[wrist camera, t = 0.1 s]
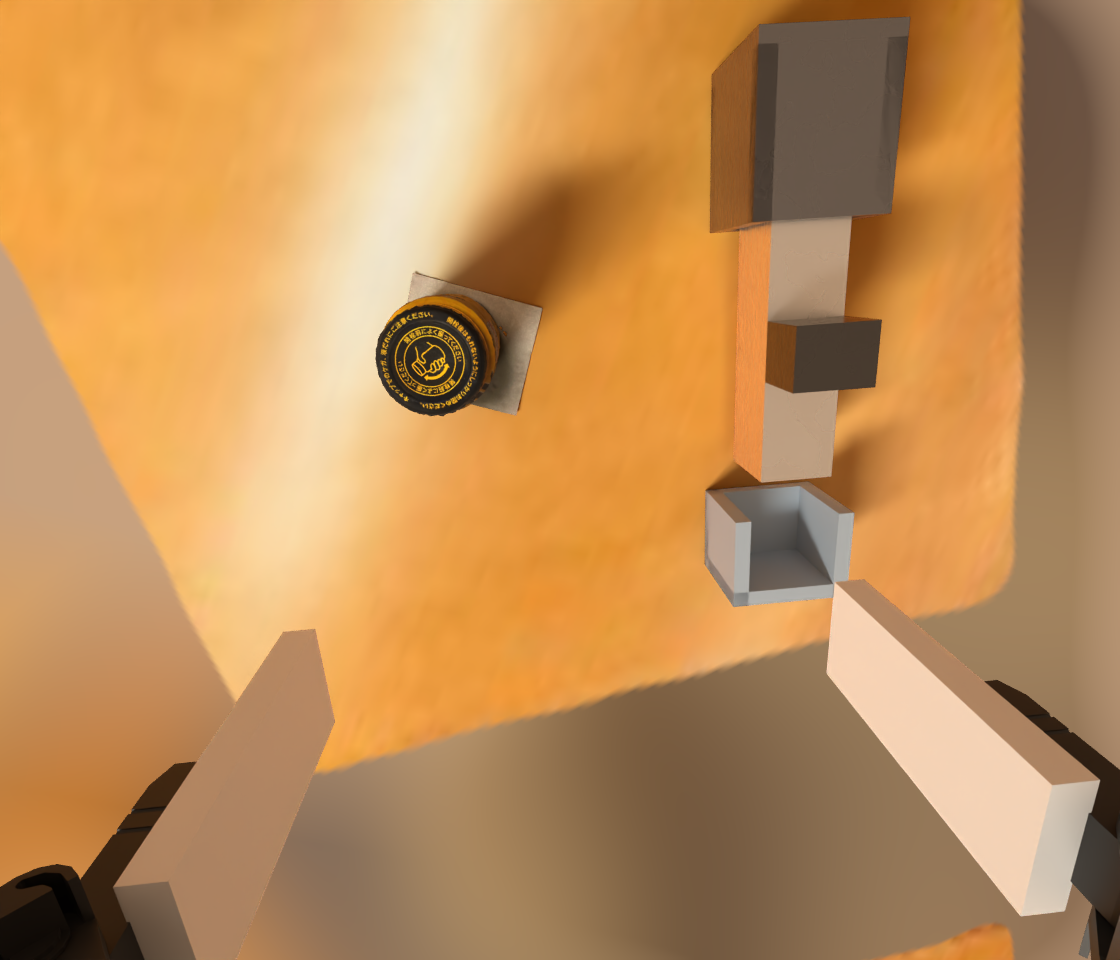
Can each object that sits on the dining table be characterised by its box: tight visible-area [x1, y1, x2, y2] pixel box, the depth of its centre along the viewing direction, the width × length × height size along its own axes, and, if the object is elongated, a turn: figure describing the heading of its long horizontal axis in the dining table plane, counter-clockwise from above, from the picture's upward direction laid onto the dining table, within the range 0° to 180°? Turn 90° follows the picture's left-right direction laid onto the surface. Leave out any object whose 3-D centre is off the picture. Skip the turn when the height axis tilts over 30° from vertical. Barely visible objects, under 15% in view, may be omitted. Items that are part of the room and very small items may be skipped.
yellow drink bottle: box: [375, 273, 542, 416], centre depth 34 cm, size 7×8×12 cm
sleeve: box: [710, 17, 910, 233], centre depth 34 cm, size 9×8×7 cm
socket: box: [705, 482, 854, 607], centre depth 42 cm, size 6×8×6 cm
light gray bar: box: [734, 217, 882, 483], centre depth 35 cm, size 22×4×9 cm, turn 4°
